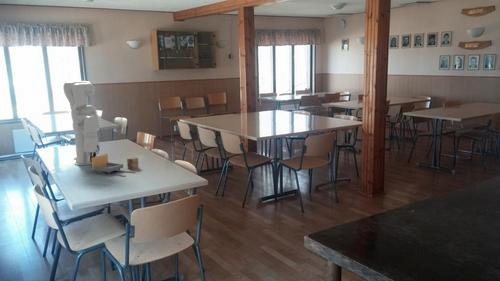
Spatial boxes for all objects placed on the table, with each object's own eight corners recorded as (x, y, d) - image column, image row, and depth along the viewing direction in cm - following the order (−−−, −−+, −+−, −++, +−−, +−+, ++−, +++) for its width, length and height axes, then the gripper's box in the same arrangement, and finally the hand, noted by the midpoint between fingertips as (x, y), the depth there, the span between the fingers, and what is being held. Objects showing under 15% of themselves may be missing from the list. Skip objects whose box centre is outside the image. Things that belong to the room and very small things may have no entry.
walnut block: (127, 168, 273) (127, 158, 272) (132, 167, 278) (132, 157, 276) (133, 169, 271) (132, 159, 270) (138, 167, 276) (137, 157, 274)
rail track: (96, 172, 263) (96, 172, 262) (108, 169, 272) (108, 168, 272) (124, 176, 253) (124, 175, 253) (135, 172, 263) (135, 171, 263)
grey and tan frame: (92, 171, 262) (91, 157, 261) (107, 167, 274) (106, 153, 272) (109, 174, 256) (108, 159, 255) (123, 169, 268) (122, 155, 266)
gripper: (78, 135, 266) (80, 162, 269) (95, 136, 260) (97, 164, 263) (87, 133, 273) (89, 160, 276) (104, 134, 267) (105, 162, 270)
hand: (93, 162), depth 269 cm, fingers closed
